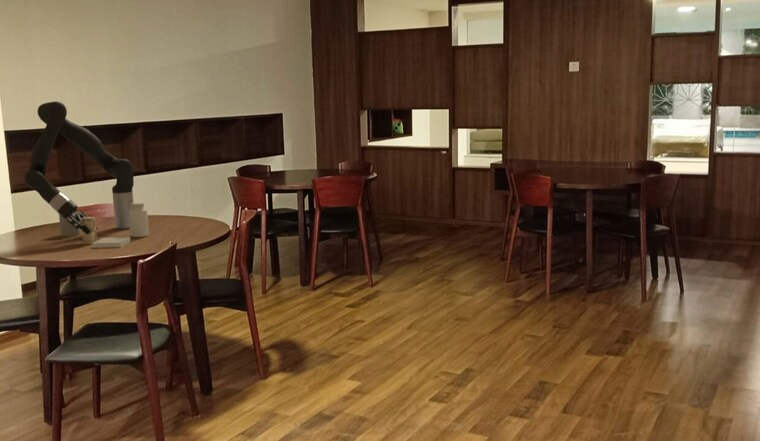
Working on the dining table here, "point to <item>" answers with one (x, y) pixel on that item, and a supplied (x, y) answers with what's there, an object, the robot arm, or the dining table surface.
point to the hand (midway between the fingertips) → (92, 231)
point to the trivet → (111, 242)
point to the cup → (67, 228)
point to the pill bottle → (138, 220)
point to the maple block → (91, 225)
